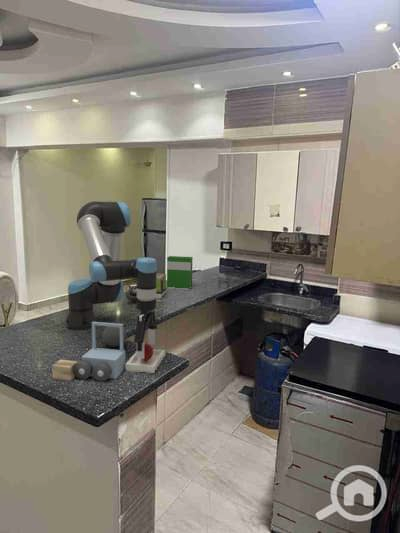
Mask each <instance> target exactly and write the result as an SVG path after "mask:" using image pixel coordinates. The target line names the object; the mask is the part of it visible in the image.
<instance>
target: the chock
mask: <svg viewBox="0 0 400 533" xmlns="http://www.w3.org/2000/svg"><path fill="white" fill-rule="evenodd" d="M78 363H79V361H75V360H66V359H59V360H58V361H56V362H55V363H53V364H52V365H51V368H52V372H51V374H52V379H55V380H62V381H69V382H71V381H72V380H74V379H75V378H77V377H76V375H75V374H74V367H75V366H76V365H77V364H78Z"/></svg>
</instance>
